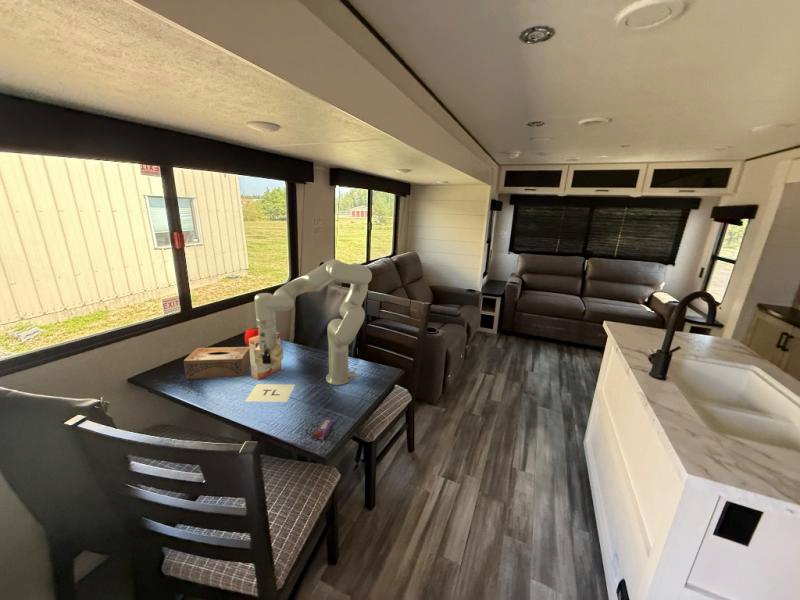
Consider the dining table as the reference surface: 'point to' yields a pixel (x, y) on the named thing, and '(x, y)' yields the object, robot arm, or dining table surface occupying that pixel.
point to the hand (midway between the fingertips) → (269, 359)
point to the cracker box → (261, 370)
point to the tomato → (251, 334)
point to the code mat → (270, 393)
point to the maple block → (274, 353)
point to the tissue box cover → (217, 362)
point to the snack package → (323, 428)
